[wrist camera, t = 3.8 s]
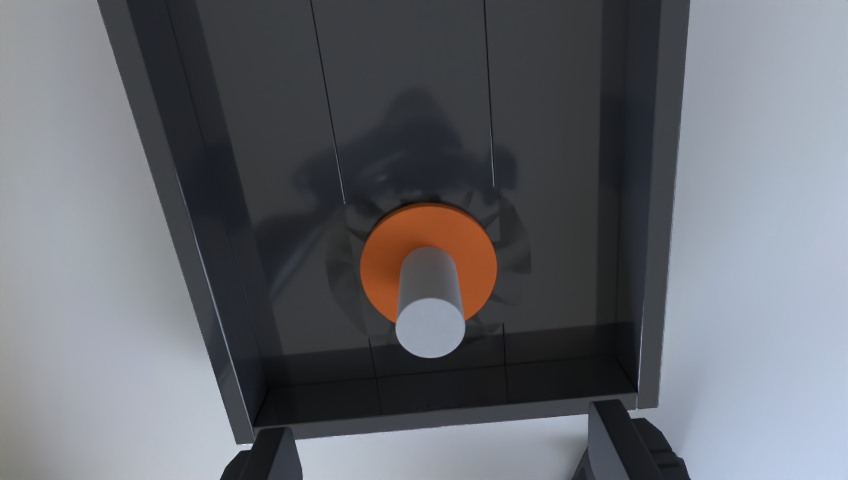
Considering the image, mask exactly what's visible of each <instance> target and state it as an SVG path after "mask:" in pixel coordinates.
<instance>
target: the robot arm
mask: <svg viewBox="0 0 848 480" xmlns="http://www.w3.org/2000/svg"><path fill="white" fill-rule="evenodd" d="M588 453H589V459H590V463H591V467H592V470H593V473H594V476H595V478H596V480H691V479H690V478H689V476H688V474H687V473H686V471H685V470H684V468H683V466H681V464H680V461H679V460H678V458H677V457H676V455H675V453H674V452H672V448H671V447H670V445H669V443H668V442H667V440H666V439H665V437H664V435H663V434H662V432H661V431H660V430H659V429H657V428H656V427H655V426H654V425H652V424H651V423H650V422H649V421H647V420H646V419H645V418H636V419H631V417H630V416H629V414H628V412H627V410H626V408H625V407H624V405H623V403H622V402H621V400H619V399H612V400H601V401H591V402H590V403H589V417H588ZM220 480H303V474H302V467H301V463H300V460H299V456H298V452H297V448H296V444H295V440H294V436H293V433H292V430H291V428H290V427H288V426H287V427H275V428H264V429H261V430H260V431H259V432H258V434H257V437H256V439H255V441H254V444H253V446H252V448H251V450H244V451H240V452H239V453H238V454H237V455H236V456H235V458H234V459H233V460H232V461H231V462H230V463H229V464H228V465H227V466H226V468H225V470H224V472H223V474H222V476H221V478H220Z"/></svg>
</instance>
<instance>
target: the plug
mask: <svg viewBox="0 0 848 480" xmlns="http://www.w3.org/2000/svg"><path fill="white" fill-rule="evenodd" d="M496 274H497V262H496V255H495V252H494V248H493V246H492V243H491V241H490V239H489V237H488V235H487V233H486V232H485V230H484V229H483V228H482V227H481V225H480V224H479V223H478V222H477V221H476V220H475V219H473V218H472V217H471V216H469V215H468V214H467V213H465V212H463V211H461V210H459V209H457V208H454V207H452V206H449V205H444V204H440V203H418V204H412V205H409V206H405V207H402V208H400V209H398V210H396V211H394V212H392V213H390V214H389V215H387V216H386V217H385V218H383V219H382V220H381V221H380V222H379V223H378V224H377V225H376V226H375V227H374V229H373V230H372V231H371V233H370V234H369V236H368V238H367V240H366V242H365V245H364V247H363V250H362V254H361V259H360V278H361V282H362V286H363V289H364V291H365V294H366V295H367V297H368V299H369V301H370V302H371V303H372V305H373V306H374V307H375V308H376V309H377V310H378V311H379V312H380V313H381V314H382V315H383V316H385V317H386V318H387V319H389V320H391V321H392V322H394V323H396V327H395V328H396V335H397V338H398V340H399V342H400V343H401V344H402V346H403V347H404V348H405V349H406V350H408V351H409V352H411V353H412V354H414V355H417V356H420V357H425V358H435V357H440V356H443V355H446V354H448V353H450V352H451V351H453V350H454V349H455V348H456V347H457V346H458V345H459V344H460V342H461V341H462V339H463V337H464V333H465V320H467V319H468V318H470V317H471V316H473V315H474V314H475V313H476V312H477V311H478V310H479V309H480V308H481V307H482V306H483V305H484V303H485V302H486V301H487V299H488V297H489V296H490V294H491V292H492V290H493V287H494V284H495V280H496Z"/></svg>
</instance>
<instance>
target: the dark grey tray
mask: <svg viewBox="0 0 848 480" xmlns="http://www.w3.org/2000/svg"><path fill="white" fill-rule="evenodd" d="M97 2H98V5H99V9H100V12H101V15H102V18H103V21H104V24H105V28H106V31H107V34H108V37H109V40H110V44H111V47H112V50H113V53H114V56H115V59H116V63H117V66H118V69H119V72H120V75H121V79H122V82H123V85H124V88H125V91H126V94H127V98H128V101H129V104H130V107H131V110H132V113H133V117H134V120H135V123H136V126H137V129H138V133H139V136H140V139H141V142H142V145H143V148H144V152H145V155H146V158H147V161H148V164H149V168H150V171H151V174H152V177H153V180H154V183H155V187H156V190H157V193H158V196H159V199H160V203H161V206H162V209H163V212H164V215H165V218H166V222H167V225H168V228H169V231H170V234H171V237H172V241H173V244H174V247H175V250H176V253H177V257H178V260H179V263H180V266H181V269H182V272H183V276H184V279H185V282H186V285H187V288H188V292H189V295H190V298H191V301H192V304H193V307H194V311H195V314H196V317H197V320H198V323H199V326H200V330H201V333H202V336H203V339H204V342H205V346H206V349H207V352H208V355H209V358H210V361H211V365H212V368H213V371H214V374H215V377H216V381H217V384H218V387H219V390H220V393H221V396H222V400H223V403H224V406H225V409H226V412H227V416H228V419H229V422H230V425H231V428H232V431H233V435H234V438H235V441H236V444H237V445H248V444H254V441H255V439H256V437H257V434H258V432H259V431H260V430H261V429H264V428H275V427H287V426H288V427H290V428H291V430H292V433H293V436H294V440H306V439H317V438H328V437H339V436H350V435H361V434H372V433H383V432H394V431H405V430H416V429H427V428H438V427H448V426H459V425H470V424H481V423H492V422H503V421H514V420H525V419H536V418H547V417H558V416H569V415H580V414H589V403H590V402H591V401H601V400H612V399H619V400H621V402H622V403H623V405H624V407H625V408H626V410H635V409H646V408H657V407H658V404H659V391H660V378H661V366H662V353H663V340H664V328H665V315H666V302H667V289H668V277H669V264H670V251H671V239H672V226H673V213H674V200H675V188H676V175H677V162H678V150H679V137H680V124H681V111H682V99H683V86H684V73H685V60H686V48H687V35H688V22H689V10H690V0H628V16H627V43H626V69H625V96H624V123H623V149H622V176H621V203H620V230H619V256H618V283H617V310H616V336H615V356H614V355H611V356H600V357H590V358H579V359H569V360H558V361H548V362H537V363H526V364H516V365H505V366H495V367H484V368H474V369H463V370H453V371H442V372H432V373H421V374H410V375H400V376H389V377H379V378H368V379H358V380H347V381H337V382H326V383H316V384H305V385H294V386H284V387H273V388H269V385H268V381H267V377H266V374H265V370H264V366H263V362H262V359H261V355H260V351H259V348H258V344H257V340H256V336H255V333H254V329H253V325H252V322H251V318H250V314H249V310H248V307H247V303H246V299H245V296H244V292H243V288H242V285H241V281H240V277H239V273H238V270H237V266H236V262H235V259H234V255H233V251H232V247H231V244H230V240H229V236H228V233H227V229H226V225H225V221H224V218H223V214H222V210H221V207H220V203H219V199H218V195H217V192H216V188H215V184H214V181H213V177H212V173H211V169H210V166H209V162H208V158H207V155H206V151H205V147H204V143H203V140H202V136H201V132H200V129H199V125H198V121H197V118H196V114H195V110H194V106H193V103H192V99H191V95H190V92H189V88H188V84H187V80H186V77H185V73H184V69H183V66H182V62H181V58H180V54H179V51H178V47H177V43H176V40H175V36H174V32H173V28H172V25H171V21H170V17H169V14H168V10H167V6H166V2H165V0H97Z"/></svg>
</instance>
